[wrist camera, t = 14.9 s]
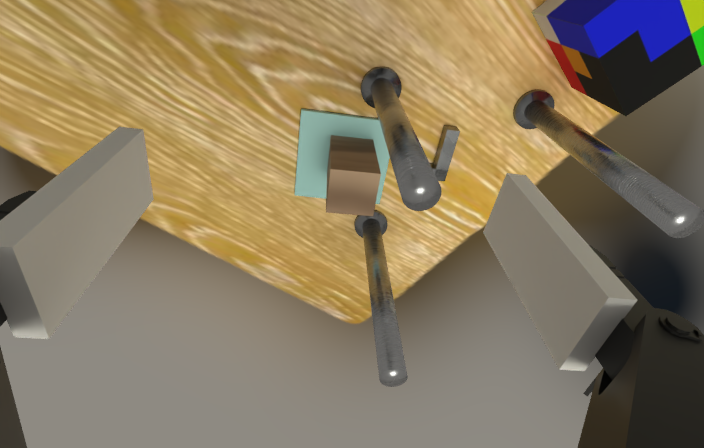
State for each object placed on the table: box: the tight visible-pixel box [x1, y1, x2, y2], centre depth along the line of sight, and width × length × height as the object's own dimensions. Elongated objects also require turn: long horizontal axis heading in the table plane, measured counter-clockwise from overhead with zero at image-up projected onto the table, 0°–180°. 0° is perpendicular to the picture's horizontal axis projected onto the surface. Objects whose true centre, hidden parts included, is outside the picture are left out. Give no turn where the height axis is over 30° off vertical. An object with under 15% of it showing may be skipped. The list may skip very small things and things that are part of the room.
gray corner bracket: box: [430, 125, 460, 181], centre depth 48 cm, size 6×6×2 cm
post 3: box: [513, 90, 704, 238], centre depth 36 cm, size 4×4×24 cm
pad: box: [295, 109, 390, 204], centre depth 48 cm, size 11×11×1 cm
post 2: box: [355, 210, 407, 387], centre depth 44 cm, size 4×4×24 cm
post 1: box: [361, 67, 441, 211], centre depth 34 cm, size 4×4×24 cm
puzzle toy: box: [532, 0, 704, 116], centre depth 37 cm, size 10×10×10 cm
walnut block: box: [326, 135, 381, 216], centre depth 44 cm, size 5×5×9 cm
